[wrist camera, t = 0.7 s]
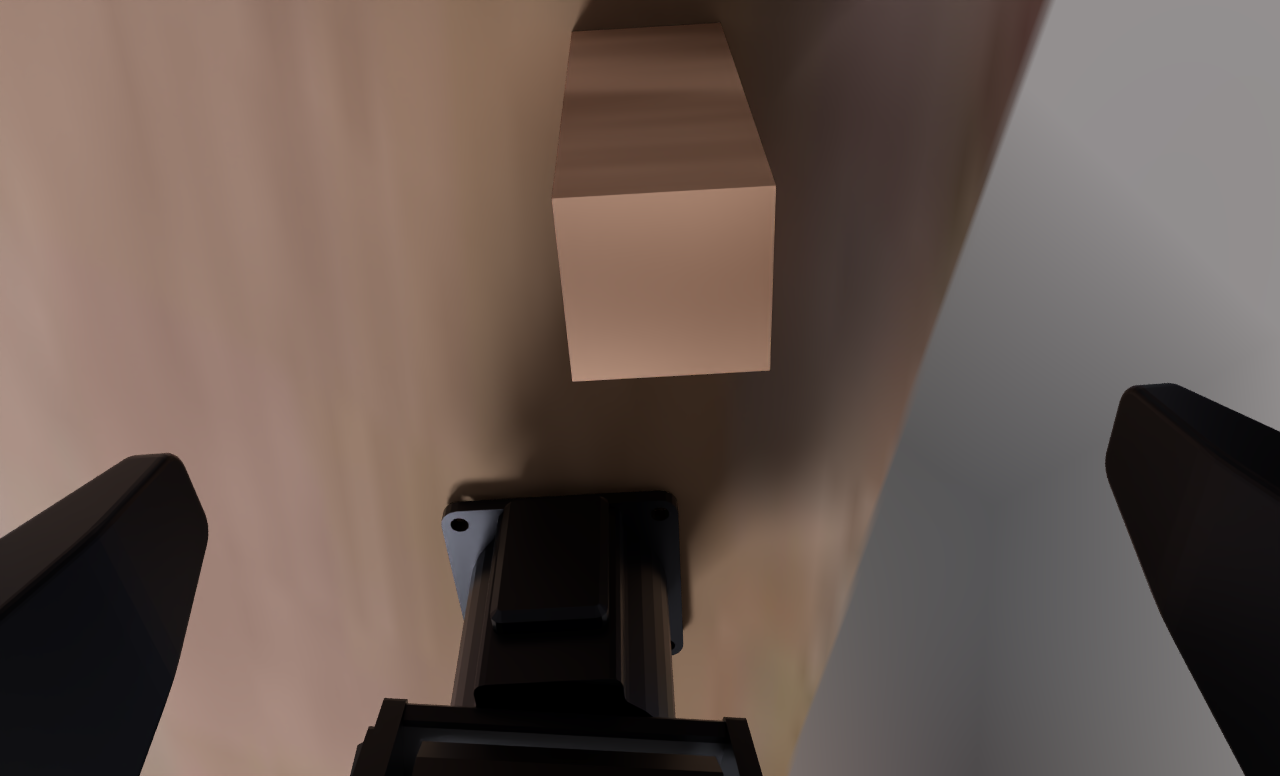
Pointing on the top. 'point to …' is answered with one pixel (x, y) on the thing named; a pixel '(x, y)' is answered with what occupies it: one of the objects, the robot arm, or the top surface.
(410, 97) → the top surface
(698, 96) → the brown wooden block
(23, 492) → the top surface
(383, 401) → the top surface
